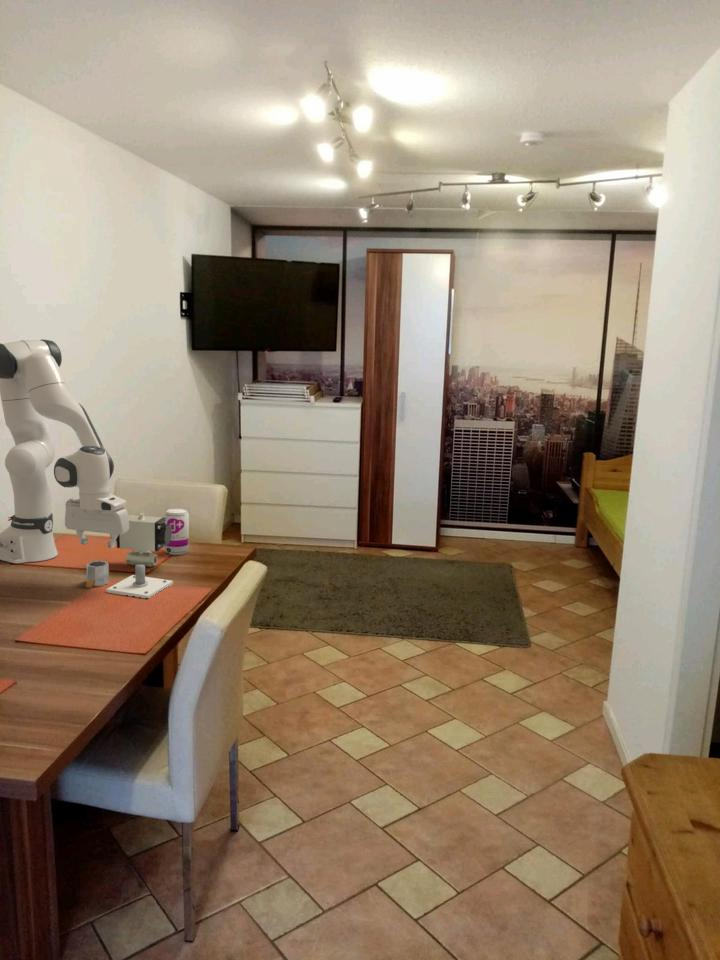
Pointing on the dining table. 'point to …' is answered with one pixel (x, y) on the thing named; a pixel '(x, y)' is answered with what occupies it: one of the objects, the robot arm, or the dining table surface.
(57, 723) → the dining table surface
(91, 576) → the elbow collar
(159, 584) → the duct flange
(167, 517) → the supplement can
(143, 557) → the ball valve
